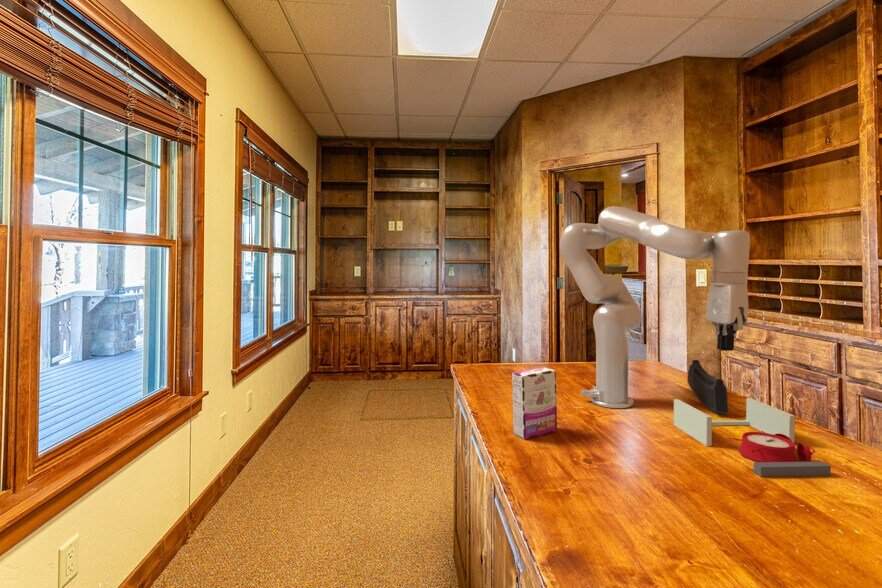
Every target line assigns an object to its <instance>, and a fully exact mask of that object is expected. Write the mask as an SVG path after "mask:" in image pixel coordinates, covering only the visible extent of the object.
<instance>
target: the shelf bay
mask: <svg viewBox="0 0 882 588" xmlns="http://www.w3.org/2000/svg"><path fill="white" fill-rule="evenodd" d="M745 405H746V406H745V407H746V409H745V410H746V412H745V414H746V416H745V419H738V420H736V419H731V420H729V419H728V420H727V419H726V420H723V419H722V420H721V419H720V420H713V418H712V417H713V416H711V415H709V414H707V413H705V412H703V411H702V410H699V409H698V408H695V407H694V406H692V405H690V404H688V403H687V402H684V401H682V400H680V399H678V398H675V399H673V426H675V427H677V428H678V429H680V430H681V431H682V432H684V433H685V434H687V435H688V436H690V437H691V438H693V439H695V440H696V441H698V442H699V443H701V444H703V445H704V446H705V447H712V446H713V445H712V444H713V443H712V441H713V439H712V438H713V437H712V436H713V434H712V433H713V429H712V428H713V427H725V426H724V425H740V426H750V427H752V428H753V429H756V430H758V431H760V432H762V431H763V432H762V433H764V432H765V433H768V434H773V435H774V434H784V435H786V436H788V437H789V438H790V439H791V440H792V442H793V443H795V432H796V431H795V427H796V425H795V423H796V421H795V420H796V416H795V415H793V414H791V413H789V412H787V411H784V410H781V409H779V408H776V407H773V406H771V405H769V404H766V403H764V402H761V401H759V400H756V399H754V398H751V397H750V398H748V397H746V403H745Z"/></svg>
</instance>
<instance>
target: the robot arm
mask: <svg viewBox="0 0 882 588" xmlns="http://www.w3.org/2000/svg"><path fill="white" fill-rule="evenodd" d="M750 235H751V234H750V233H749V232H748V231H747V230H743V229H742V230H741V229H740V230H739V229H738V230H735V229H734V230H732V229H730V230H721V231H717V232H707V231H700V230H693V229H688V228H685V227H680V226H678V225H674V224H670V223H667V222H664V221H661V220H660V219H659V218H658V217H657V216H654V215H650V214H647V213H643V212H639V211H635V210H634V209H632V208H629V207H624V206H617V205H611V206H607V207H605V208H604V209H603V210H602V211H601V212H600V213H599V215H598V223H596V224H595V223H587V222H575V223H571V224H570V225H568V226H566V228H565V229H564V230H563V231H562V233H561V236H560V240H559V249H560V250H559V252H560V255H561V257H562V259H563V261H564V263H565V265H567V267H568V269H569V271H570V273H571V275H572V277H573V279H574V281H575V283H576V284H577V287H579V290H580V292H581V294H582V296H583V297H584V299H585V300H586V301H587V303H588V302H589V303H590V304H603V305H601V306H600V307H599V308H597V309H596V310H595V312H594V314H593V318H592V323H593V330H594V334H595V355H596V356H595V363H596V364H595V367H596V368H595V369H596V370H595V375H596V376H595V384H596V385H592V388H591V389H581V390H580V395H581V397H587V398H590V401H591V402H592V403H593V404H594V405H596V406H599V407H603V408H610V409H626V408H632V406H634V404H635V403H634V399H632V398H631V397H629V343H628V339H627V335H626V332H631V331H634V330H635V329H637V328H638V327H639V326H640V323H642V322H641V321H642V314H641V311H640V307H639V306H638V304H637V302H636V301H635V299H634V297H633V296H632V294H631V292H630V291H629V289H628V287H627V286H626V284H625V282H623V280H622V279H621V278H619V277H618V276H617V275H613V274H605V273H603V271H602V270H601V269H600V266H599V265H598V263H597V261H596V260H595V259H594V257H593V256H592V254H591V253H589V252H588V250H599V249H601V248H602V249H603V248H604V247H607V246H609V245H612V244H613V243H615V242H618V241H619V240H621V239H626V240H630V241H631V242H635V243H638V244H640V245H643V246H645V247H648V248H650V249H652V250H655V251H659V252H662V253H665V254H667V255H671V256H674V257H675V258H680V259H684V260H697V261H701V260H712V268H711V269H712V271H711V284H710V286H709V289H708V295H707V300H706V310H705V318H706V320H707V321H709V322H711V324H712V325H713V326H715V329H716V334H717V340H716V341H717V342H716V345H717V346H716V349H717V350H719V351H721V352H722V351H724V352H725V351H726V352H727V351H728V352H729V351H732V352H733V351H734V350H735V349H734V347H735V336H737V332H738V331H743V330H744V325H746V324H747V323H748V317H749V293H748V287H747V286H748V276H749V275H748V272H749V263H750V261H749V259H750V247H751V245H750V242H751V236H750Z"/></svg>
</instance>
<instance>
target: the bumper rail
mask: <svg viewBox="0 0 882 588" xmlns="http://www.w3.org/2000/svg"><path fill="white" fill-rule="evenodd" d="M752 469H753V473H754V474H756V475H757V476H759V477H760V478H763V477H764V478H765V477H766V478H767V477H768V476H770V477H773V476H776V478H778V477H779V478H780V477H826V476H827V477H830V476H831V471H832V467H831V465H829V464H828V463H825V462H824V461H810V462H805V461H798V462H761V463H760V462H753V468H752ZM770 477H768V478H770Z"/></svg>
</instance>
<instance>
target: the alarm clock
mask: <svg viewBox="0 0 882 588" xmlns="http://www.w3.org/2000/svg"><path fill="white" fill-rule="evenodd" d="M729 440H736V441H740V442H741V444H740V445H739V447H738V452H739V455H740V454H741V455H740V456H741V457H742V456H743V457H744V458H747V459H749V460H752V461H754V462H756V463H761V462H799V461H801V462H812V461H811V460H812V456H813V455H814V454H815V453H816V450H815V449H814V448H812V447H810V446H808V445H807V444H804V443H801V442H799V443H798V442H794V443H793V442H792V440H791V439H790V438H789V437H788V436H786V435H784V434H774V435H773V434H768V433H764V432H762V431H760V432H759V431H747V432H744V433H742V435H741V438H733V437H731V436H730V437H729ZM795 445H796V446H795ZM795 452H796V453H795ZM796 455H797V456H796ZM743 457H742V458H743Z"/></svg>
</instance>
